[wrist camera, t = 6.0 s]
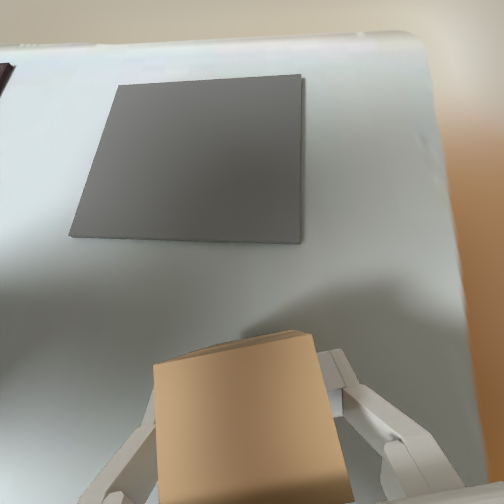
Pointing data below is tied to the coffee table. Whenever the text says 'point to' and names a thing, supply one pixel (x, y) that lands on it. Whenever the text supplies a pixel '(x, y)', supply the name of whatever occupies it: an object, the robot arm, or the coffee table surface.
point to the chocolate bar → (4, 73)
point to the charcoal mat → (198, 163)
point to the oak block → (248, 425)
